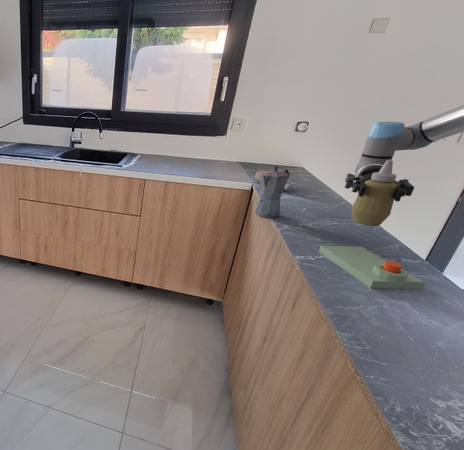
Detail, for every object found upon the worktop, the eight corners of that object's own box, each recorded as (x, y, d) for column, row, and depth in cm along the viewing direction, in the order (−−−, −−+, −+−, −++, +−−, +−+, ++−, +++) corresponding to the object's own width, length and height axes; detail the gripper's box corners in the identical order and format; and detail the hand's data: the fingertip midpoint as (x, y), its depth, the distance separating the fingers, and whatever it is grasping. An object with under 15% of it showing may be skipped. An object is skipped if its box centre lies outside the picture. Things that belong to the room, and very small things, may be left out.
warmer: (359, 252, 97) (363, 241, 96) (421, 289, 79) (428, 276, 77) (318, 252, 98) (322, 240, 97) (370, 288, 80) (376, 275, 78)
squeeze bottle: (383, 230, 84) (410, 165, 77) (345, 222, 90) (367, 160, 83) (386, 222, 89) (412, 160, 82) (349, 215, 95) (371, 156, 88)
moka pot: (244, 213, 130) (254, 166, 122) (266, 207, 136) (277, 162, 129) (266, 221, 122) (279, 171, 114) (289, 214, 129) (302, 166, 121)
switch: (391, 267, 82) (394, 261, 81) (402, 274, 79) (406, 267, 78) (378, 267, 82) (381, 260, 82) (389, 273, 79) (392, 266, 79)
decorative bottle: (252, 181, 175) (255, 170, 173) (266, 181, 175) (269, 169, 172) (281, 195, 151) (285, 182, 149) (297, 195, 151) (301, 181, 149)
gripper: (412, 192, 94) (427, 214, 78) (330, 183, 105) (329, 200, 89) (423, 168, 91) (441, 186, 75) (337, 161, 102) (337, 175, 86)
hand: (380, 194), depth 82 cm, fingers closed on squeeze bottle, 6 cm apart
